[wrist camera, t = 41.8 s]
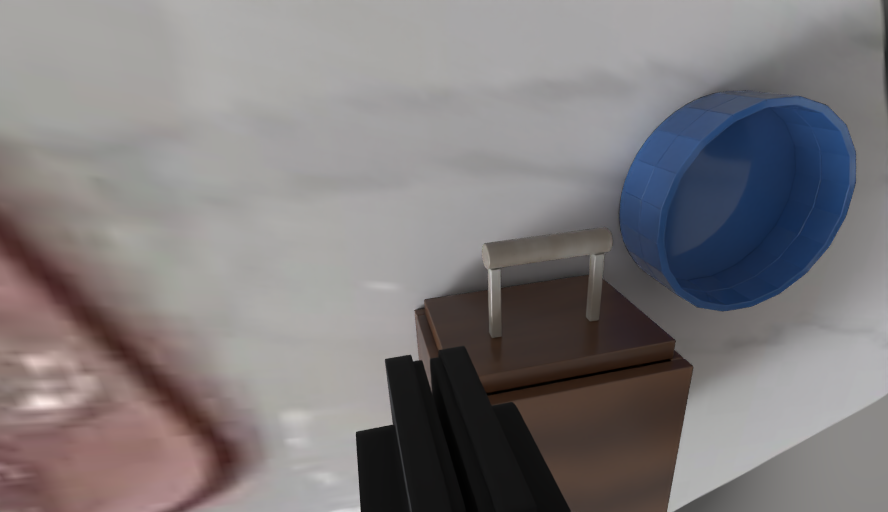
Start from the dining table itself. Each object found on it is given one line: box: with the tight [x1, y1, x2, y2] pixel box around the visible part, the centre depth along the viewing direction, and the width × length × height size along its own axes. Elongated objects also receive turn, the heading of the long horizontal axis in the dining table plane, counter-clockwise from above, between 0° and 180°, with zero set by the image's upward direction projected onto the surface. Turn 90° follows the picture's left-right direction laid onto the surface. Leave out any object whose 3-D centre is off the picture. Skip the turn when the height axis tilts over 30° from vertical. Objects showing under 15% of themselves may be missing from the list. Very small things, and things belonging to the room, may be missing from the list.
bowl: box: [619, 90, 856, 311], centre depth 33 cm, size 14×14×4 cm
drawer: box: [424, 227, 676, 395], centre depth 31 cm, size 21×12×9 cm, turn 3°
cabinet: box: [415, 308, 693, 512], centre depth 33 cm, size 17×14×11 cm
